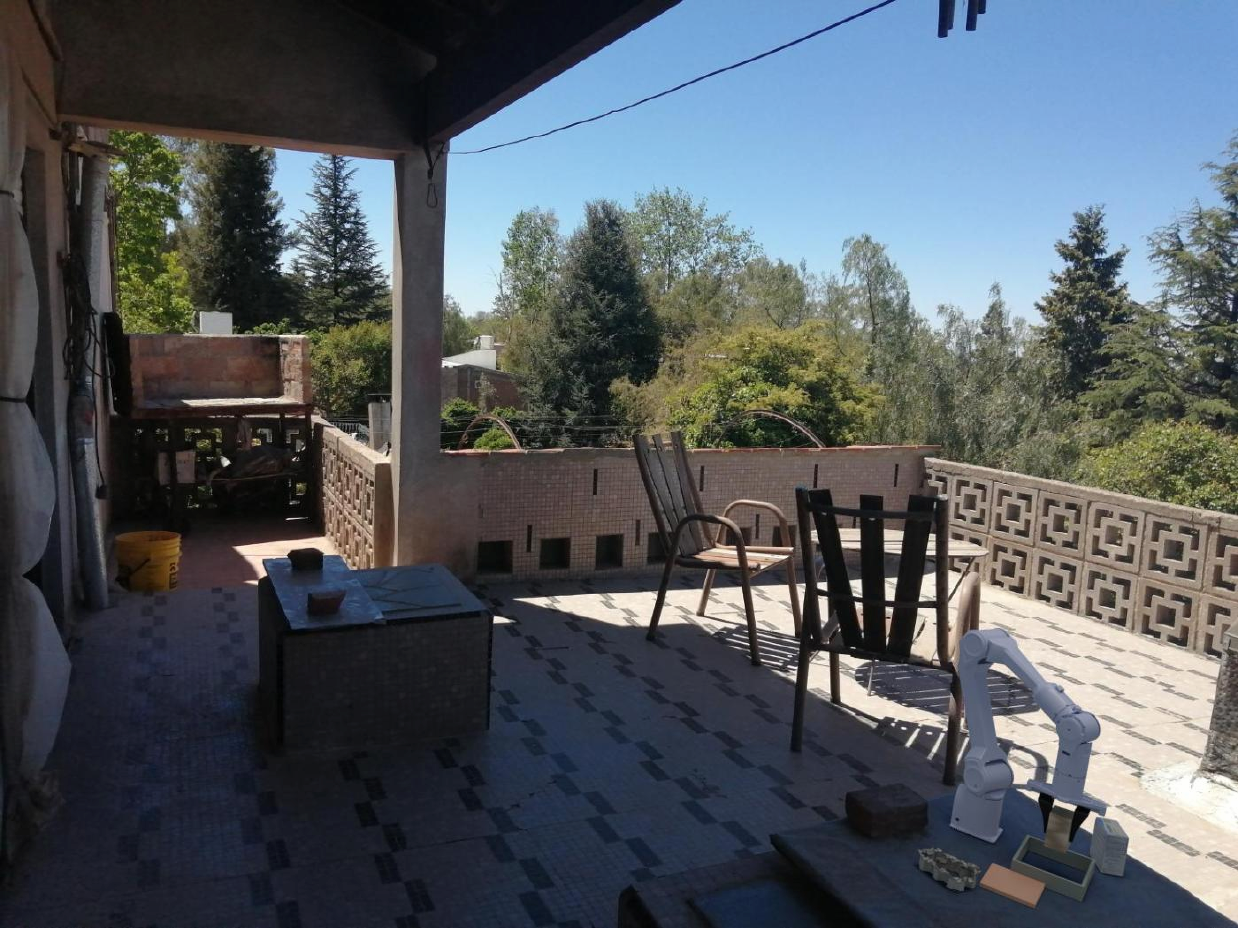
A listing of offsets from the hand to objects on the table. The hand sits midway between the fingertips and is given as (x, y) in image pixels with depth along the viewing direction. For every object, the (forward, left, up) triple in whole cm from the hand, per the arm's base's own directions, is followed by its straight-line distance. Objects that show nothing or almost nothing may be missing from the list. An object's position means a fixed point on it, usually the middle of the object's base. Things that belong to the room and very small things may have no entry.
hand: (1058, 835), depth 185 cm
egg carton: (-16, -18, -8) cm, 26 cm away
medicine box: (+8, +13, -8) cm, 17 cm away
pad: (-5, -12, -8) cm, 15 cm away
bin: (0, 0, -8) cm, 8 cm away
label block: (0, 0, -2) cm, 2 cm away
